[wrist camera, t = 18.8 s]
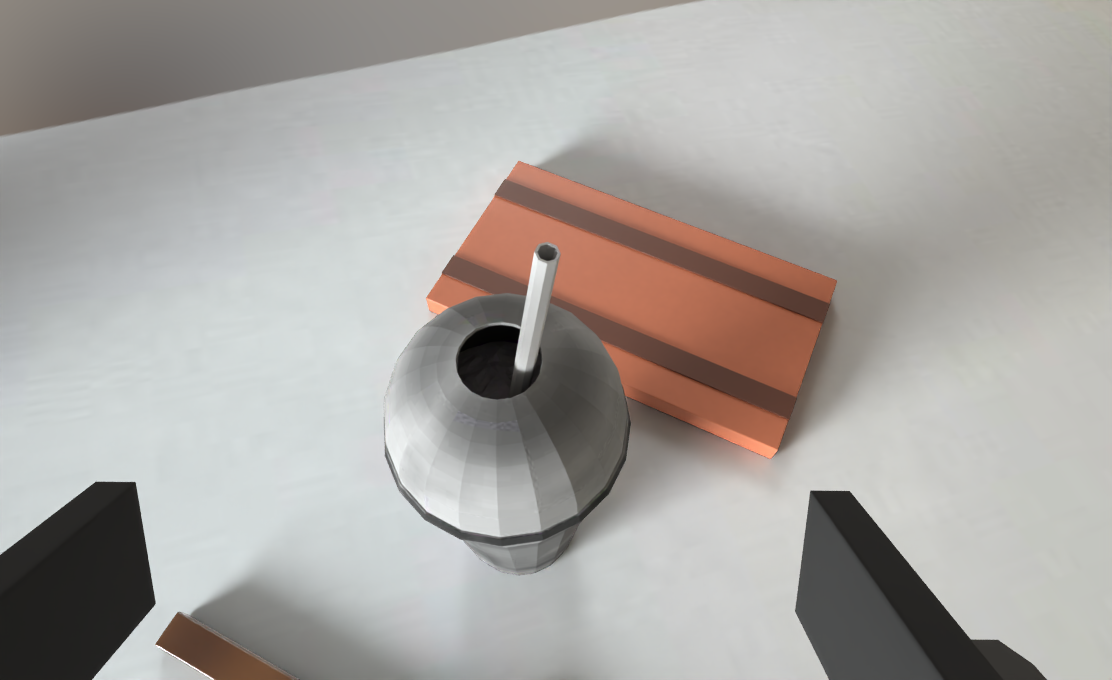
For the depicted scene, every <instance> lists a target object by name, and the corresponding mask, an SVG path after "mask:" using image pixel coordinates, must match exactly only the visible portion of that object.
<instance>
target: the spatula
mask: <svg viewBox="0 0 1112 680" xmlns="http://www.w3.org/2000/svg"><path fill="white" fill-rule="evenodd" d="M155 645H156V646H157V647H159V648H160V649H162V650H164V651H165V652H167V653H169V654H170V655H172V656H174V657H175V658H177V659H179V660H180V661H182V662H184V663H185V664H187V665H189V666H190V667H192V668H194V669H195V670H197V671H199V672H200V673H202V674H204V675H205V676H207V677H209V678H211V679H212V680H300V679H298V678H296V677H294V676H293V675H291V674H289V673H288V672H286V671H284V670H282V669H281V668H279V667H277V666H275V665H274V664H272V663H270V662H269V661H267V660H265V659H263V658H262V657H260V656H258V655H257V654H255V653H253V652H251V651H250V650H248V649H246V648H244V647H243V646H241V645H239V644H238V643H236V642H234V641H232V640H231V639H229V638H227V637H225V636H224V635H222V634H220V633H219V632H217V631H215V630H213V629H212V628H210V627H208V626H207V625H205V624H203V623H201V622H200V621H198V620H196V619H194V618H193V617H191V616H189V615H188V614H185V613H182V612H178V613H177V614H176V615H175V617H174V618H173V619H172V621H171V622H170V624H169V625H168V627H167V628H166V630H165V631H164V632H163V634H162V635H161V637H160V638H159V640H158V641H157V642H156V644H155Z"/></svg>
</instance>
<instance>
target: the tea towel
mask: <svg viewBox="0 0 1112 680" xmlns="http://www.w3.org/2000/svg"><path fill="white" fill-rule="evenodd" d="M545 242H549V243H552V244H554V245H556V246H557V247H558V249H559V251H560V253H561V254H560V259H559V263H558V268H557V272H556V276H555V281H554V285H553V290H552V294H551V299H550V303H551V304H553V305H556V306H558V307H560V308H562V309H564V310H567V311H569V312H571V313H572V314H573V315H575V316H576V317H577V318H578V319H579V320H580V321H581V322H583V323H584V324H585V325H586V326H587V327H588V328H589V329H591V330H592V331H593V332H594V333H595V334H596V335H597V336H598V337H599V339H600V340H601V342H602V343H603V345H604V347H605V348H606V350H607V352H608V353H609V355H610V357H611V358H612V360H613V362H614V363H615V365H616V367H617V368H618V372H619V375H620V379H621V384H622V386H623V389H624V393H625V396H627V397H629V398H632V399H634V400H636V401H638V402H641V403H643V404H645V405H648V406H650V407H652V408H655V409H657V410H659V411H661V412H664V413H666V414H668V415H671V416H673V417H675V418H677V419H680V420H682V421H684V422H687V423H689V424H691V425H694V426H696V427H698V428H700V429H703V430H705V431H707V432H710V433H712V434H714V435H717V436H719V437H721V438H723V439H726V440H728V441H730V442H733V443H735V444H737V445H739V446H742V447H744V448H746V449H749V450H751V451H753V452H756V453H758V454H760V455H762V456H765V457H767V458H769V459H771V458H772V457H773V456H774V454H775V453H776V452H777V451H778V449H779V446H780V443H781V440H782V437H783V435H784V432H785V429H786V426H787V423H788V420H789V419H790V416H791V413H792V410H793V408H794V405H795V402H796V399H797V395H798V392H799V389H800V386H801V383H802V380H803V378H804V375H805V372H806V369H807V366H808V363H809V361H810V358H811V355H812V352H813V349H814V346H815V343H816V341H817V338H818V335H819V332H820V329H821V326H822V323H823V322H824V319H825V316H826V313H827V311H828V308H829V305H830V304H829V303H830V301H831V298H832V295H833V292H834V289H835V286H836V284H837V280H835V279H832V278H829V277H827V276H824V275H821V274H819V273H816V272H813V271H811V270H808V269H805V268H803V267H800V266H797V265H795V264H792V263H789V262H787V261H784V260H781V259H779V258H776V257H773V256H771V255H768V254H765V253H763V252H760V251H757V250H755V249H752V248H749V247H747V246H744V245H741V244H739V243H736V242H733V241H731V240H728V239H726V238H723V237H720V236H718V235H715V234H712V233H710V232H707V231H704V230H702V229H699V228H696V227H694V226H691V225H688V224H686V223H683V222H680V221H678V220H675V219H672V218H670V217H667V216H664V215H662V214H659V213H656V212H654V211H651V210H648V209H646V208H643V207H640V206H638V205H635V204H632V203H630V202H627V201H625V200H622V199H619V198H617V197H614V196H611V195H609V194H606V193H603V192H601V191H598V190H595V189H593V188H590V187H587V186H585V185H582V184H579V183H577V182H574V181H571V180H569V179H566V178H563V177H561V176H558V175H555V174H553V173H550V172H547V171H545V170H542V169H539V168H537V167H534V166H531V165H529V164H526V163H523V162H521V161H518V163H517V164H516V165H515V167H514V168H513V170H512V171H511V173H510V174H509V176H508V177H507V179H505V180H504V181H503V183H502V184H501V186H500V187H499V189H498V190H497V192H496V193H495V197H494V198H493V200H492V201H491V203H490V204H489V206H488V207H487V209H486V210H485V211H484V213H483V214H482V216H481V217H480V219H479V220H478V222H477V223H476V225H475V226H474V228H473V229H472V231H471V232H470V234H469V235H468V237H467V238H466V240H465V241H464V243H463V244H462V246H461V247H460V249H459V250H458V252H457V253H456V254H455V256H454V255H453V257H452V258H451V260H450V261H449V263H448V264H447V266H446V267H445V269H444V270H443V272H442V275H441V277H440V278H439V280H438V281H437V283H436V284H435V286H434V287H433V289H432V290H431V292H430V293H429V295H428V296H427V297H426V300H427V303H428V307H429V310H430V311H432V312H434V313H437V314H440V313H442V312H443V311H444V310H445V309H447V308H449V307H452V306H454V305H457V304H459V303H462V302H464V301H467V300H469V299H472V298H474V297H478V296H486V295H495V294H503V293H510V294H517V295H524V296H527V290H528V285H529V279H530V273H531V268H532V262H533V256H534V251H535V249H536V248H537V246H538V244H541V243H545Z"/></svg>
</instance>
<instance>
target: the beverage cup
mask: <svg viewBox="0 0 1112 680" xmlns="http://www.w3.org/2000/svg"><path fill="white" fill-rule="evenodd" d="M560 254H561V253H560V251H559V249H558V247H557V246H556V245H554V244H552V243H549V242H545V243H541V244H538V246H537V248H536V249H535V251H534V256H533V262H532V268H531V273H530V279H529V285H528V290H527V296H524V295H517V294H510V293H503V294H495V295H486V296H478V297H474V298H472V299H469V300H467V301H464V302H462V303H459V304H457V305H454V306H452V307H449V308H447V309H445V310H444V311H443V312H442V313H440V314H439V315H438V316H436V317H435V318H434V319H432V320H431V321H430V322H429V323H427V324H426V325H425V326H423V327H422V328H421V329H420V330H418V331H417V332H416V334H415V335H414V337H413V338H412V339H411V341H410V342H409V344H408V345H407V347H406V348H405V349H404V351H403V352H402V354H401V355H400V356H399V358H398V360H397V362H396V364H395V366H394V370H393V373H392V376H391V379H390V382H389V386H388V389H387V392H386V395H385V400H384V435H385V457H386V459H387V462H388V464H389V467H390V469H391V472H392V474H393V477H394V479H395V482H396V484H397V487H398V489H399V491H400V492H401V494H402V495H403V496H404V497H405V498H406V499H407V500H408V501H409V503H410V504H411V505H412V506H413V507H414V508H415V509H416V510H417V512H418V513H419V514H420V515H421V516H422V517H423V518H424V519H425V520H426V521H428V522H430V523H431V524H433V525H435V526H437V527H439V528H440V529H442V530H444V531H446V532H448V533H450V534H451V535H453V536H455V537H457V538H459V539H461V540H463V541H464V542H465V543H466V544H467V545H468V546H469V547H470V548H471V550H472V551H473V552H474V553H475V554H476V555H477V556H478V557H479V558H480V559H481V560H482V561H484V562H486V563H487V564H488V565H490V566H492V567H494V568H495V569H497V570H499V571H501V572H504V573H509V574H515V575H524V574H530V573H536V572H538V571H540V570H542V569H544V568H546V567H548V566H550V565H551V564H552V563H553V562H554V561H555V560H556V559H557V558H558V557H559V556H560V555H561V554H562V553H563V551H564V550H565V549H566V548H567V547H568V545H569V543H570V541H571V539H572V537H573V535H574V533H575V531H576V529H577V527H578V525H579V523H580V522H581V521H582V520H583V519H584V518H585V517H586V516H587V515H588V514H589V513H590V512H591V511H592V510H593V509H594V508H595V507H596V506H597V505H598V504H599V503H600V502H601V501H602V500H603V499H604V498H605V497H606V496H607V495H608V494H609V493H610V491H611V489H612V487H613V485H614V483H615V481H616V479H617V477H618V475H619V473H620V471H621V469H622V467H623V465H624V463H625V461H626V456H627V448H628V440H629V433H630V425H631V422H630V417H629V413H628V408H627V403H626V398H625V393H624V389H623V386H622V384H621V379H620V375H619V372H618V368H617V367H616V365H615V363H614V362H613V360H612V358H611V357H610V355H609V353H608V352H607V350H606V348H605V347H604V345H603V343H602V342H601V340H600V339H599V337H598V336H597V335H596V334H595V333H594V332H593V331H592V330H591V329H589V328H588V327H587V326H586V325H585V324H584V323H583V322H581V321H580V320H579V319H578V318H577V317H576V316H575V315H573V314H572V313H571V312H569V311H567V310H564V309H562V308H560V307H558V306H556V305H553V304H551V303H550V299H551V294H552V290H553V285H554V281H555V276H556V272H557V268H558V263H559V259H560Z"/></svg>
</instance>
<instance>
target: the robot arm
mask: <svg viewBox="0 0 1112 680" xmlns="http://www.w3.org/2000/svg"><path fill="white" fill-rule="evenodd" d="M155 604H156V603H155V597H154V591H153V585H152V579H151V573H150V567H149V561H148V554H147V548H146V542H145V536H144V530H143V524H142V518H141V512H140V506H139V500H138V494H137V488H136V482H95V483H94V484H92V485H91V486H90V487H88V488H87V489H86V490H85V491H83V492H82V493H81V494H79V495H78V496H77V497H75V498H74V499H73V500H71V501H70V502H69V503H68V504H66V505H65V506H64V507H62V508H61V509H60V510H58V511H57V512H56V513H54V514H53V515H52V516H51V517H49V518H48V519H47V520H45V521H44V522H43V523H41V524H40V525H39V526H37V527H36V528H35V529H34V530H32V531H31V532H30V533H28V534H27V535H26V536H24V537H23V538H22V539H21V540H19V541H18V542H17V543H15V544H14V545H13V546H11V547H10V548H9V549H7V550H6V551H5V552H4V553H2V554H1V555H0V680H92V679H93V678H94V676H95V675H96V674H97V673H98V672H99V671H100V669H101V668H102V667H103V666H104V665H105V663H106V662H107V661H108V660H109V659H110V658H111V656H112V655H113V654H114V653H115V652H116V650H117V649H118V648H119V647H120V646H121V644H122V643H123V642H124V641H125V640H126V639H127V637H128V636H129V635H130V634H131V633H132V631H133V630H134V629H135V628H136V627H137V625H138V624H139V623H140V622H141V621H142V620H143V618H144V617H145V616H146V615H147V614H148V612H149V611H150V610H151V609H152V608H153V607H154V605H155ZM795 612H796V614H797V616H798V618H799V620H800V622H801V624H802V626H803V628H804V630H805V632H806V634H807V636H808V638H809V640H810V642H811V644H812V646H813V648H814V650H815V652H816V654H817V656H818V658H819V660H820V662H821V664H822V666H823V668H824V670H825V672H826V674H827V676H828V678H829V680H1047V679H1046V678H1045V677H1044V676H1043V675H1042V674H1041V673H1040V672H1039V670H1038V669H1037V668H1036V667H1035V666H1034V665H1033V664H1032V663H1031V662H1029V661H1028V660H1026V659H1025V658H1023V657H1022V656H1020V655H1019V654H1018V653H1016V652H1015V651H1013V650H1012V649H1010V648H1009V647H1007V646H1006V645H1005V644H1003V643H1002V642H1000V641H999V640H971V639H970V638H969V637H968V636H967V634H966V633H965V632H964V631H963V630H962V628H961V627H960V626H959V625H958V623H957V622H956V621H955V620H954V619H953V617H952V616H951V615H950V614H949V612H948V611H947V610H946V609H945V608H944V606H943V605H942V604H941V603H940V601H939V600H938V599H937V598H936V596H935V595H934V594H933V593H932V592H931V590H930V589H929V588H928V587H927V585H926V584H925V583H924V582H923V581H922V579H921V578H920V577H919V576H918V574H917V573H916V572H915V571H914V569H913V568H912V567H911V566H910V565H909V563H908V562H907V561H906V560H905V558H904V557H903V556H902V555H901V554H900V552H899V551H898V550H897V549H896V547H895V546H894V545H893V544H892V542H891V541H890V540H889V539H888V538H887V536H886V535H885V534H884V533H883V531H882V530H881V529H880V528H879V527H878V525H877V524H876V523H875V522H874V520H873V519H872V518H871V517H870V515H869V514H868V513H867V512H866V511H865V509H864V508H863V507H862V506H861V504H860V503H859V502H858V501H857V500H856V498H855V497H854V496H853V495H852V493H851V492H850V491H810V499H809V506H808V514H807V522H806V530H805V538H804V546H803V554H802V562H801V570H800V578H799V586H798V593H797V601H796V609H795Z"/></svg>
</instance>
